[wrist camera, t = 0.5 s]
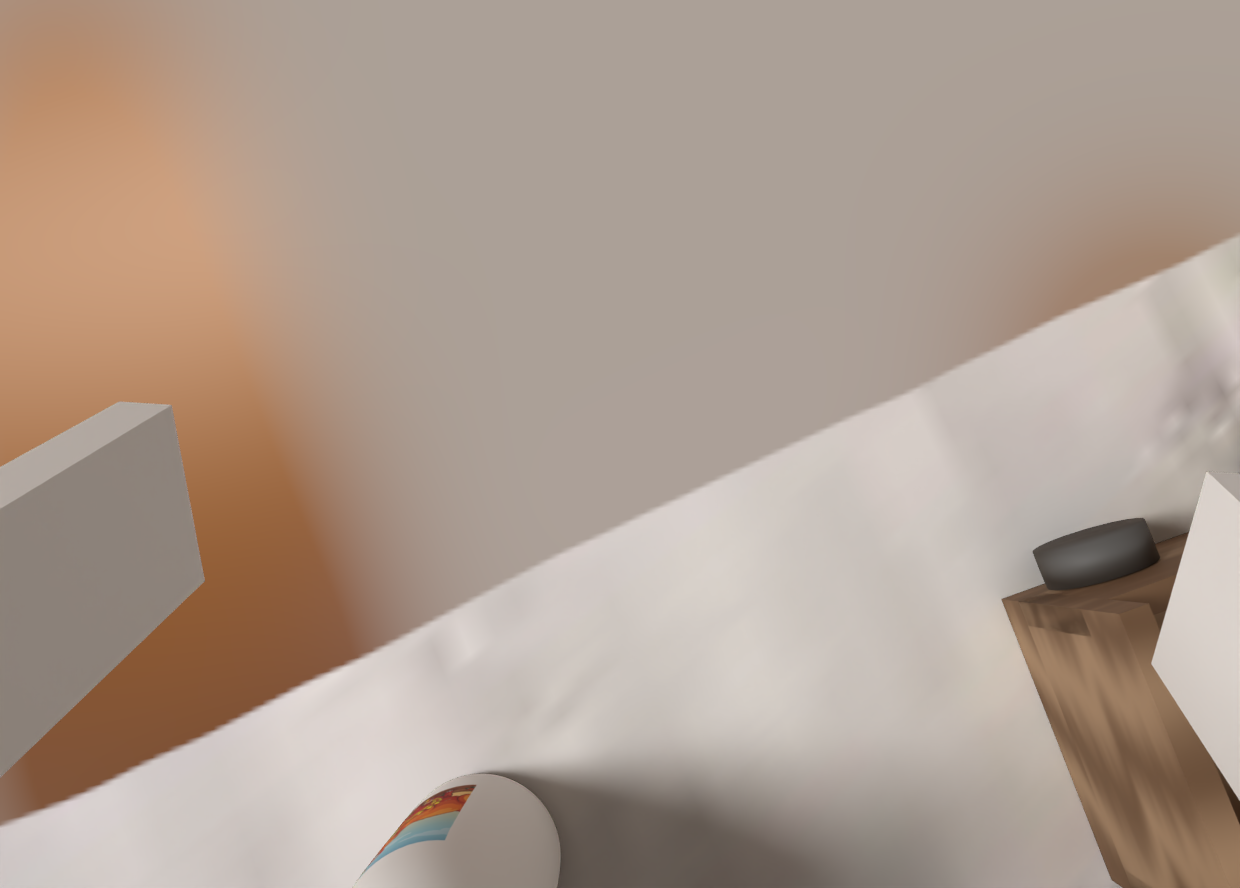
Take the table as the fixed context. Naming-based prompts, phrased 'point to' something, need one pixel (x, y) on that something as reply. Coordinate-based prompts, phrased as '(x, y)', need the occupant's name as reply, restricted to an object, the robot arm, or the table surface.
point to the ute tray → (1125, 708)
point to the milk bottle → (471, 840)
